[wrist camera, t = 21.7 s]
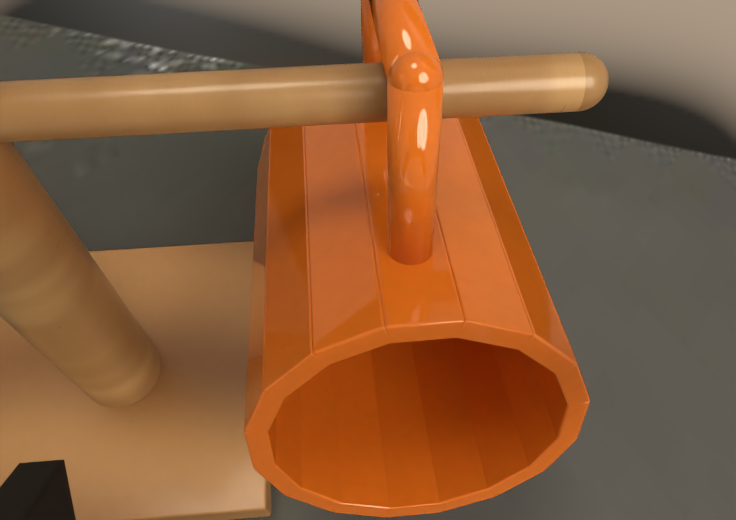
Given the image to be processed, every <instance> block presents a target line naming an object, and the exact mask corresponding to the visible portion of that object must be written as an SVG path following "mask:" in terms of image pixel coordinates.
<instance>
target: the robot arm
mask: <svg viewBox="0 0 736 520" xmlns="http://www.w3.org/2000/svg"><path fill="white" fill-rule="evenodd" d="M0 520H76V518H75V513H74V508H73V503H72V498H71V492H70V487H69V482H68V477H67V472H66V467H65V462H64V459H63V460H51V461H39V462H27V463H19V464H18V465H17V467H16V468H15V469H14V470H13V472H12V473H11V474H10V475H9V477H8V478H7V479H6V480H5V482H4V483H3V484H2V485H1V487H0Z"/></svg>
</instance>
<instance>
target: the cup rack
mask: <svg viewBox="0 0 736 520" xmlns="http://www.w3.org/2000/svg"><path fill="white" fill-rule="evenodd" d="M439 60H440V62H441V65H442V68H443V72H444V85H443V101H442V117H441V119H445V118H463V117H482V116H500V115H518V114H535V113H555V112H573V111H583V110H587V109H589V108H591V107H593V106H594V105H596V104H597V103H598V102H599V101H600V100H601V99H602V97H603V96H604V94H605V92H606V90H607V87H608V81H609V80H608V72H607V69H606V67H605V65H604V64H603V62H602V61H601V60H600V59H599V58H598V57H596V56H594V55H592V54H590V53H585V52H574V53H554V54H536V55H535V54H534V55H514V56H495V57H476V58H456V59H439ZM372 122H387V78H386V74H385V70H384V65H383V62H376V63H357V64H336V65H316V66H297V67H277V68H257V69H237V70H217V71H198V72H178V73H158V74H138V75H118V76H99V77H79V78H59V79H39V80H19V81H0V487H1V485H2V484H3V483H4V482H5V480H6V479H7V478H8V477H9V475H10V474H11V473H12V472H13V470H14V469H15V468H16V467H17V465H18V464H19V463H27V462H39V461H51V460H63V459H64V462H65V467H66V472H67V477H68V482H69V487H70V492H71V498H72V503H73V508H74V513H75V518H76V520H231V519H243V518H255V517H268V516H270V515H271V483H270V482H268V481H267V480H266V479H265V478H264V477H263V476H261V475H260V474H259V473H258V472H257V471H256V470H255V469H254V468H253V465H252V461H251V457H250V454H249V450H248V446H247V442H246V439H245V435H244V421H245V402H246V383H247V363H248V344H249V325H250V306H251V286H252V267H253V248H254V241H250V242H234V243H218V244H202V245H186V246H170V247H153V248H137V249H121V250H105V251H89V252H88V250H87V249H86V247H85V246H84V244H83V243H82V242H81V240H80V239H79V237H78V236H77V234H76V233H75V232H74V230H73V229H72V227H71V226H70V224H69V223H68V222H67V220H66V219H65V217H64V216H63V214H62V213H61V212H60V210H59V209H58V207H57V206H56V204H55V203H54V201H53V200H52V199H51V197H50V196H49V194H48V193H47V191H46V190H45V189H44V187H43V186H42V184H41V183H40V181H39V180H38V179H37V177H36V176H35V174H34V173H33V171H32V170H31V169H30V167H29V166H28V164H27V163H26V161H25V160H24V159H23V157H22V156H21V154H20V153H19V151H18V150H17V148H16V147H15V146H14V144H13V143H12V142H23V141H42V140H60V139H78V138H97V137H115V136H133V135H152V134H170V133H188V132H207V131H225V130H243V129H262V128H280V127H298V126H317V125H335V124H353V123H372Z"/></svg>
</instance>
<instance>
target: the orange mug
mask: <svg viewBox="0 0 736 520" xmlns="http://www.w3.org/2000/svg"><path fill="white" fill-rule="evenodd" d="M361 26H362V60H363V61H362V62H363V63H376V62H383V65H384V70H385V74H386V78H387V122H372V123H353V124H335V125H317V126H298V127H280V128H269V129H268V132H267V134H266V136H265V139H264V142H263V146H262V150H261V158H260V162H259V165H258V171H257V190H256V209H255V229H254V248H253V267H252V286H251V306H250V325H249V344H248V363H247V383H246V402H245V421H244V435H245V439H246V442H247V446H248V450H249V454H250V457H251V461H252V465H253V468H254V469H255V470H256V471H257V472H258V473H259V474H260V475H261V476H263V477H264V478H265V479H266V480H267V481H268V482H270V483H271V484H272V485H273V486H274V487H275V488H277V489H278V490H279V491H280V492H281V493H282V494H283V495H285V496H288V497H290V498H293V499H296V500H299V501H302V502H304V503H307V504H310V505H313V506H316V507H319V508H321V509H324V510H327V511H332V512H334V513H344V514H355V515H365V516H375V517H398V516H408V515H418V514H428V513H439V512H442V511H447V510H450V509H454V508H457V507H461V506H464V505H468V504H471V503H475V502H478V501H482V500H485V499H489V498H492V497H495V496H496V495H500V494H502V493H504V492H506V491H507V490H509V489H511V488H513V487H515V486H517V485H519V484H521V483H523V482H524V481H526V480H528V479H530V478H532V477H534V476H536V475H538V474H539V473H541V472H542V471H545V470H546V469H547V468H548V467H549V466H550V465H551V464H552V463H553V462H554V461H555V460H556V459H557V458H558V457H559V456H560V455H561V454H562V453H563V452H564V451H565V450H566V449H567V448H569V447H570V446H571V445H572V444H573V443H574V442H575V441H576V439H577V437H578V435H579V432H580V429H581V427H582V424H583V421H584V418H585V415H586V413H587V410H588V407H589V404H590V396H589V394H588V391H587V388H586V385H585V382H584V380H583V377H582V374H581V371H580V368H579V366H578V363H577V360H576V358H575V355H574V353H573V350H572V348H571V346H570V343H569V341H568V338H567V336H566V333H565V331H564V328H563V326H562V323H561V321H560V318H559V316H558V313H557V311H556V308H555V306H554V303H553V301H552V298H551V296H550V294H549V291H548V289H547V286H546V284H545V281H544V279H543V276H542V274H541V271H540V269H539V266H538V264H537V261H536V259H535V256H534V254H533V251H532V249H531V246H530V244H529V241H528V239H527V237H526V234H525V232H524V229H523V227H522V224H521V222H520V219H519V217H518V214H517V212H516V209H515V207H514V204H513V202H512V199H511V197H510V194H509V192H508V189H507V187H506V185H505V182H504V180H503V177H502V175H501V172H500V170H499V167H498V165H497V162H496V160H495V157H494V155H493V152H492V150H491V147H490V145H489V142H488V140H487V137H486V135H485V133H484V130H483V128H482V125H481V123H480V120H479V118H478V117H463V118H445V119H441V117H442V101H443V85H444V72H443V68H442V65H441V62H440V60H439V57H438V54H437V51H436V49H435V46H434V44H433V41H432V38H431V35H430V32H429V30H428V27H427V24H426V21H425V19H424V16H423V13H422V10H421V8H420V5H419V2H418V0H361Z"/></svg>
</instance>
